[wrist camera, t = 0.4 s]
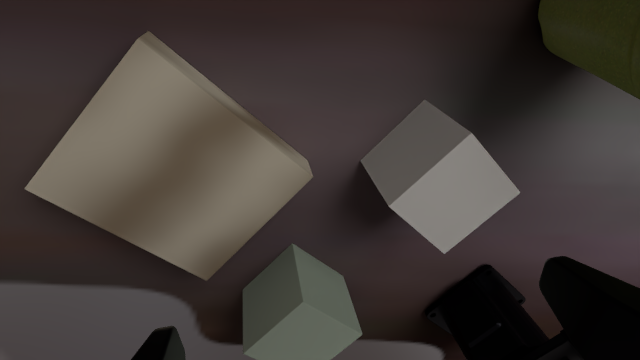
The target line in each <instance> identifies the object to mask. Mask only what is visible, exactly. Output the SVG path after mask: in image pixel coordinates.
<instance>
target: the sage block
mask: <svg viewBox="0 0 640 360" xmlns="http://www.w3.org/2000/svg"><path fill="white" fill-rule="evenodd" d="M361 335H363V334H362V331H361V328H360V325H359V322H358V319H357V316H356V313H355V310H354V307H353V304H352V301H351V298H350V295H349V292H348V289H347V286H346V283H345V280H344V277H343V276H342V275H341V274H339V273H337V272H336V271H334V270H333V269H331V268H330V267H328V266H327V265H325V264H324V263H322V262H320V261H319V260H317V259H316V258H314V257H313V256H311V255H310V254H308V253H306V252H305V251H303V250H302V249H300V248H299V247H297V246H296V245H294V244H293V243H292V244H291V245H290V246H289V247H288V248H287V249H286V250H285V251H284V252H283V253H281V254H280V255H279V256H278V257H277V258H276V259H275V260H274V261H273V262H272V263H271V264H270V265H269V266H268V267H266V268H265V269H264V270H263V271H262V272H261V273H260V274H259V275H258V276H257V277H256V278H255V279H254V280H253V281H251V282H250V283H249V284H248V285H247V286H246V287H245V288H244V289H243V354H244V355H247V356H249V357H252V358H254V359H257V360H331V359H332V358H334V357H335V356H336V355H337V354H339V353H340V352H341V351H342V350H344V349H345V348H346V347H347V346H349V345H350V344H351V343H353V342H354V341H355V340H356V339H358V338H359V337H360V336H361Z"/></svg>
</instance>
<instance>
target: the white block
mask: <svg viewBox="0 0 640 360" xmlns="http://www.w3.org/2000/svg"><path fill="white" fill-rule="evenodd" d="M360 161H361V163H362V164H363V166H364V168H365V169H366V171H367V172H368V174H369V176H370V177H371V179H372V180H373V182H374V184H375V185H376V187H377V189H378V190H379V192H380V193H381V195H382V197H383V198H384V200H385V201H386V203H387V205H388V206H389V207H390V208H391V209H392V210H393V211H395V212H396V213H397V214H398V215H399V216H400V217H402V218H403V219H404V220H405V221H406V222H407V223H409V224H410V225H411V226H412V227H413V228H414V229H416V230H417V231H418V232H419V233H420V234H421V235H423V236H424V237H425V238H426V239H427V240H429V241H430V242H431V243H432V244H433V245H434V246H436V247H437V248H438V249H439V250H440V251H441V252H443V253H444V254H445V253H446V252H447V251H449V250H450V249H451V248H452V247H454V246H455V245H456V244H457V243H459V242H460V241H461V240H462V239H464V238H465V237H466V236H467V235H469V234H470V233H471V232H472V231H474V230H475V229H476V228H477V227H479V226H480V225H481V224H482V223H483V222H485V221H486V220H487V219H488V218H490V217H491V216H492V215H493V214H495V213H496V212H497V211H498V210H500V209H501V208H502V207H503V206H505V205H506V204H507V203H508V202H510V201H511V200H512V199H513V198H515V197H516V196H517V195H518V194H519V193H520V191H519V190H518V189H517V188H516V186H515V185H514V184H513V183H512V182H511V180H510V179H509V178H508V177H507V175H506V174H505V173H504V172H503V171H502V169H501V168H500V167H499V166H498V164H497V163H496V162H495V161H494V159H493V158H492V157H491V156H490V155H489V153H488V152H487V151H486V150H485V148H484V147H483V146H482V145H481V144H480V142H479V141H478V140H477V139H476V137H475V136H474V135H473V134H472V133H471V132H470V131H468V130H467V129H466V128H464V127H463V126H461V125H460V124H459V123H457V122H456V121H454V120H453V119H452V118H450V117H449V116H447V115H446V114H444V113H443V112H442V111H440V110H439V109H437V108H436V107H435V106H433V105H432V104H430V103H429V102H428V101H426V100H424V101H423V102H422V103H420V104H419V105H418V106H417V107H416V108H415V109H414V110H413V111H412V112H411V113H410V114H409V115H408V116H407V117H406V118H405V119H404V120H403V121H402V122H400V123H399V124H398V125H397V126H396V127H395V128H394V129H393V130H392V131H391V132H390V133H389V134H388V135H387V136H386V137H385V138H384V139H383V140H382V141H380V142H379V143H378V144H377V145H376V146H375V147H374V148H373V149H372V150H371V151H370V152H369V153H368V154H367V155H366V156H365V157H364V158H363V159H362V160H360Z"/></svg>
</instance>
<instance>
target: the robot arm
mask: <svg viewBox="0 0 640 360" xmlns="http://www.w3.org/2000/svg"><path fill="white" fill-rule="evenodd" d="M539 287H540V290H541V292H542V294H543V296H544V297H545V299H546V301H547V302H548V304H549V306H550V307H551V309H552V311H553V312H554V314H555V316H556V317H557V319H558V320H559V322H560V324H561V325H562V327H563V330H561V331H560V334H558V335H556V336H555V337H553V338H551V339H550V340H549V338H548V337H547V336H546V335H545V334H544V332H543V331H542V330H541V329H540V328H539V326H538V325H537V324H536V323H535V322H534V320H533V319H532V318H531V317H530V316H529V314H528V313H527V312H526V311H525V310H524V308H523V307H522V306H521V305H522V304H523V303H524V302H525V297H524V296H523V295H522V294H521V293H520V292H519V291H518V290H517V289H516V288H514V287H513V286H512V285H511V284H510V283H509V282H508V281H507V280H506V279H505V278H504V277H503V276H502V275H500V274H499V273H498V272H497V271H496V270H495V269H494V268H493V267H492V266H491V265H484V266H483V267H481V268H480V269H479V270H477V271H476V272H475V273H473V274H472V275H471V276H470V277H468V278H467V279H466V280H464V281H463V282H462V283H460V284H459V285H458V286H457V287H455V288H454V289H453V290H451V291H450V292H449V293H447V294H446V295H445V296H444V297H442V298H441V299H440V300H438V301H437V302H436V303H434V304H433V305H432V306H431V307H429V308H428V309H427V310H426V311H425V314H426V316H427V318H428V319H429V320H431V321H432V322H434V323H435V324H436V325H438V326H439V327H441V328H442V329H444V330H445V331H447V332H448V333H450V334H451V335H453V337H454V338H455V340H456V342H457V344H458V345H459V347H460V349H461V351H462V352H463V354H464V356H465V357H466V359H467V360H640V288H638V287H635V286H633V285H631V284H628V283H626V282H624V281H622V280H619V279H617V278H615V277H612V276H610V275H608V274H605V273H603V272H601V271H599V270H596V269H594V268H592V267H589V266H587V265H585V264H582V263H580V262H578V261H575V260H573V259H571V258H569V257H566V256H559V257H553V258H549V259H547V260H546V262H545V264H544V268H543V271H542V274H541V277H540V281H539ZM131 360H185V351H184V347H183V345H182V342H181V340H180V337H179V334H178V332H177V329H176V328H175V327H174V326H168V327H163V328H158V329H155V330H154V331H153V332H152V333H151V335H150V336H149V337H148V338H147V340H146V341H145V342H144V344H143V345H142V346H141V347H140V349H139V350H138V351H137V353H136V354H135V355H134V357H133V358H132V359H131Z"/></svg>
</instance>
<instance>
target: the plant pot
mask: <svg viewBox="0 0 640 360" xmlns="http://www.w3.org/2000/svg"><path fill="white" fill-rule="evenodd" d="M538 19H539V22H540V26H541V30H542V36H543V43H544V45H545V46H546V48H547V49H548V50H549V51H550V52H552V53H553V54H555V55H556V56H558V57H560V58H562V59H564V60H566V61H568V62H570V63H572V64H574V65H576V66H578V67H580V68H582V69H584V70H586V71H588V72H590V73H592V74H594V75H595V76H597V77H599V78H601V79H603V80H605V81H607V82H609V83H611V84H612V85H614V86H616V87H618V88H620V89H622V90H623V91H625V92H627V93H629V94H631V95H633V96H634V97H636V98H638V99H640V0H541V1H540V5H539V11H538Z"/></svg>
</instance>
